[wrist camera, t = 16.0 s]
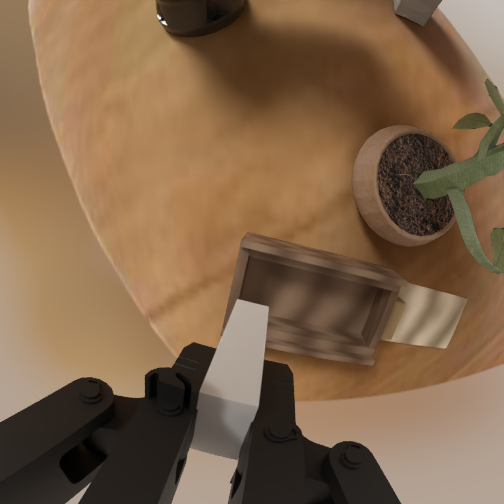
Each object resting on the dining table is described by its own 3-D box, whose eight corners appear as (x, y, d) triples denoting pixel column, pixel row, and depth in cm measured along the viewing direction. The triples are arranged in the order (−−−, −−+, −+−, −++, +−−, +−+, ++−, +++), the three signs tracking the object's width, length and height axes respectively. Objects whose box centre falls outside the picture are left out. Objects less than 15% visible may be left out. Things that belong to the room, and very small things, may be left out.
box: (229, 314, 41) (220, 335, 34) (247, 232, 38) (241, 239, 31) (361, 342, 40) (373, 365, 33) (389, 268, 37) (408, 281, 30)
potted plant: (399, 269, 37) (539, 375, 8) (322, 182, 36) (454, 140, 7) (475, 176, 32) (613, 179, 3) (411, 91, 31) (533, 7, 2)
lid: (363, 334, 40) (371, 349, 36) (385, 276, 38) (397, 286, 33) (443, 346, 39) (455, 359, 35) (465, 297, 37) (479, 306, 32)
